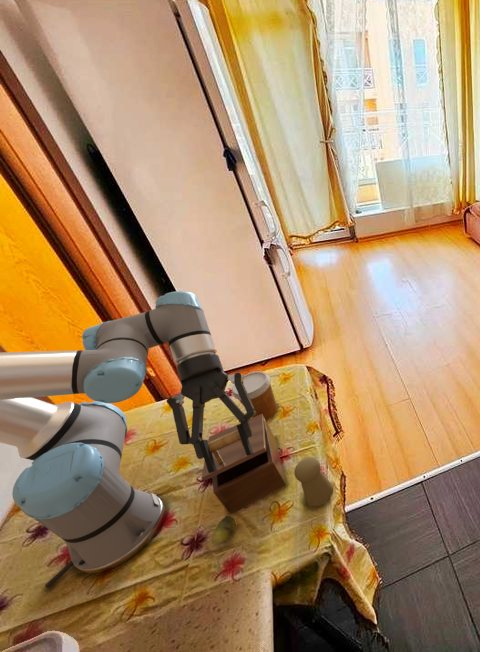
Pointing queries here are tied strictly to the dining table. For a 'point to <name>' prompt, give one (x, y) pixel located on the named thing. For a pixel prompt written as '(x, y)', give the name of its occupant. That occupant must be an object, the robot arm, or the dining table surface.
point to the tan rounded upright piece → (313, 481)
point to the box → (251, 477)
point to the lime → (224, 530)
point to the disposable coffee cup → (259, 393)
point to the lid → (234, 447)
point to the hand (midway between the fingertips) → (231, 462)
